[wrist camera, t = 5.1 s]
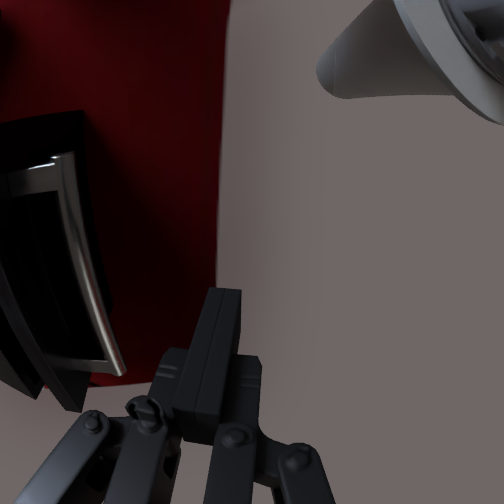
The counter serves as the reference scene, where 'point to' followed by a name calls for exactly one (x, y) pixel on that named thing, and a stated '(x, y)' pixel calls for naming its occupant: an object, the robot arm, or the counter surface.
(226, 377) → the robot arm
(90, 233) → the oven door
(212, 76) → the counter surface
